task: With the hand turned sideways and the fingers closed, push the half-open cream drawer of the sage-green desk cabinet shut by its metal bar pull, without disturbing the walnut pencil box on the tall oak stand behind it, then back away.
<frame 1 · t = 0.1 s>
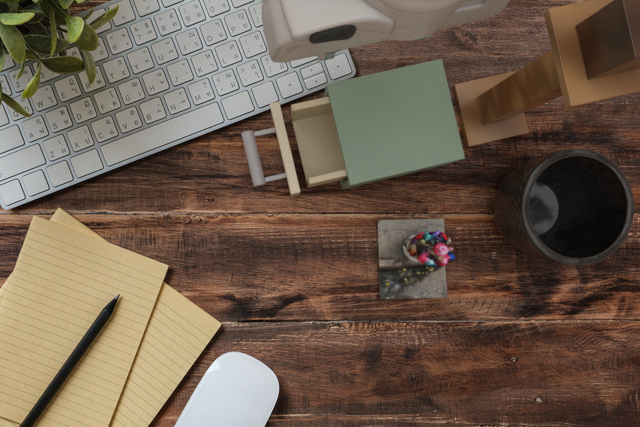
hand: (371, 41, 46), 22 cm above the table, tool pointing down, fingers open, 8 cm apart
stand: (488, 110, 69), on the table
drawer: (315, 145, 62), point 5 cm above the table, slide at 6.0 cm
pencil box: (607, 47, 43), point 26 cm above the table, touching stand
cabinet: (381, 134, 68), on the table
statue: (410, 258, 68), on the table
planter: (524, 208, 69), on the table
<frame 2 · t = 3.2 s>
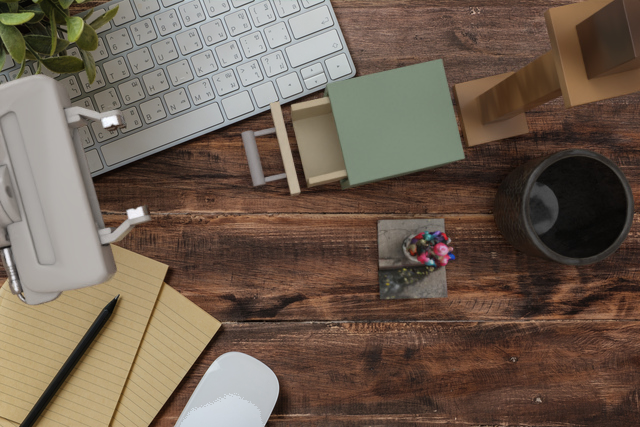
hand: (136, 165, 46), 20 cm above the table, tool horizontal, fingers open, 8 cm apart
nothing on the table moved.
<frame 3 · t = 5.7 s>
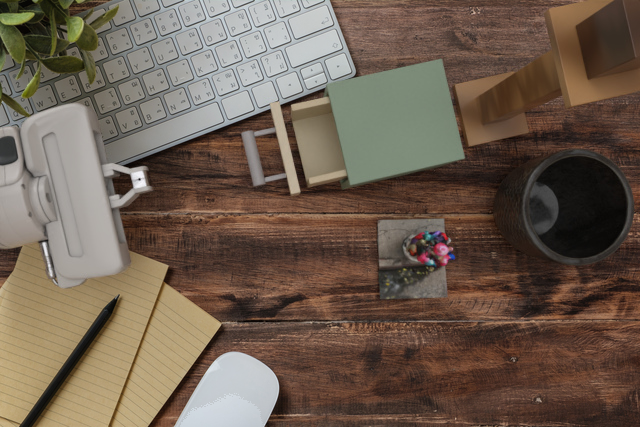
hand: (149, 178, 56), 10 cm above the table, tool horizontal, fingers closed
nothing on the table moved.
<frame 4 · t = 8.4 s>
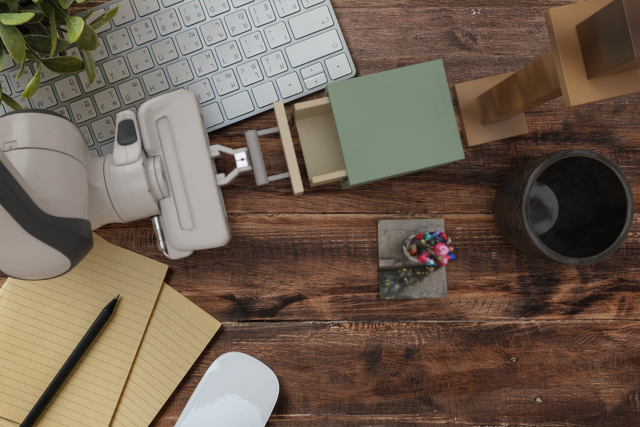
hand: (250, 158, 61), 5 cm above the table, tool horizontal, fingers closed, pressing on drawer
drawer: (318, 144, 62), point 5 cm above the table, slide at 5.6 cm, touching gripper
everything else where it was.
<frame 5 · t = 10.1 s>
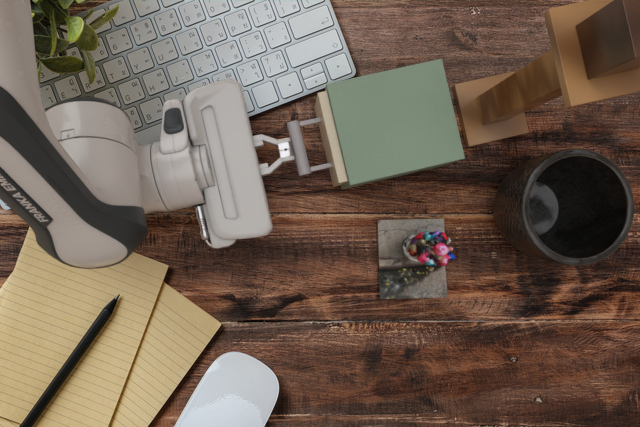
hand: (292, 149, 62), 5 cm above the table, tool horizontal, fingers closed, pressing on drawer
drawer: (359, 135, 63), point 5 cm above the table, slide at 0.0 cm, touching cabinet, gripper
everything else where it was.
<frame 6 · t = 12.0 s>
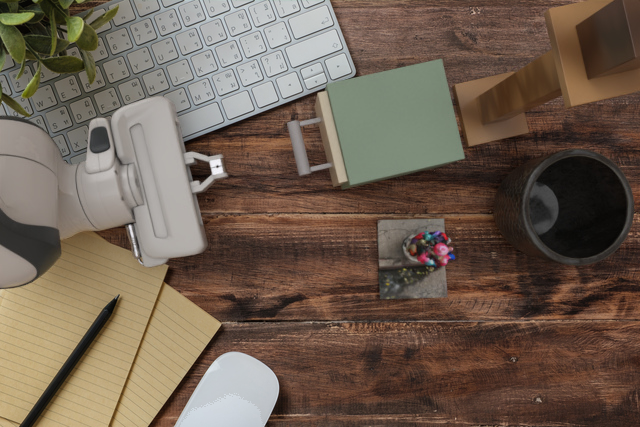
hand: (225, 165, 61), 6 cm above the table, tool horizontal, fingers closed
drawer: (359, 135, 63), point 5 cm above the table, slide at 0.0 cm
everything else where it was.
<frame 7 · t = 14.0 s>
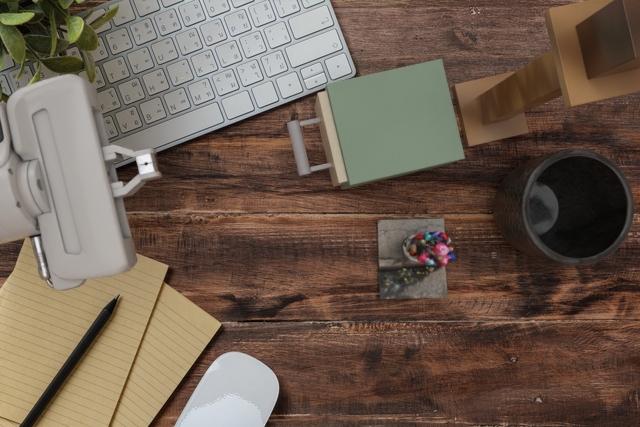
hand: (157, 162, 48), 18 cm above the table, tool horizontal, fingers closed
nothing on the table moved.
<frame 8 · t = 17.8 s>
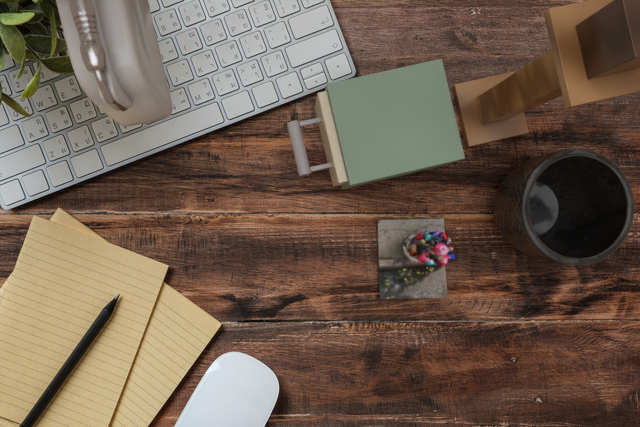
hand: (139, 10, 37), 29 cm above the table, tool pointing down, fingers closed
nothing on the table moved.
at the end: drawer slide at 0.0 cm; pencil box 0.0 cm off-centre on the stand, point 25.8 cm above the stand's base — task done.
